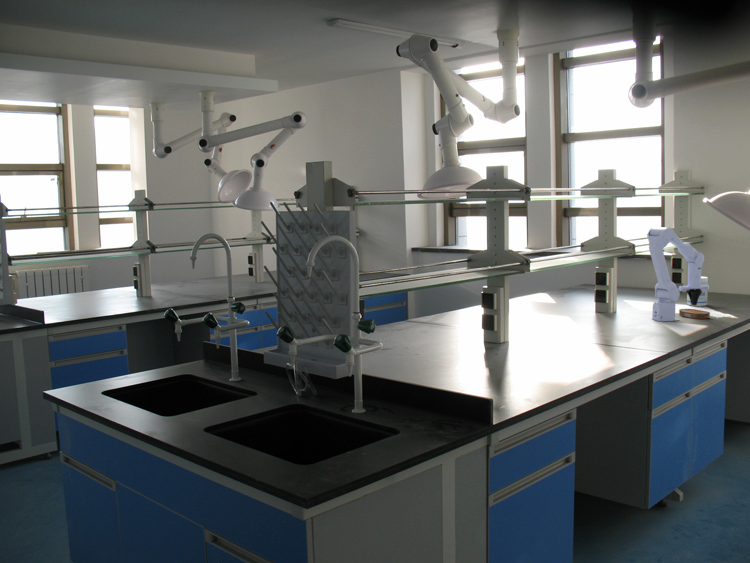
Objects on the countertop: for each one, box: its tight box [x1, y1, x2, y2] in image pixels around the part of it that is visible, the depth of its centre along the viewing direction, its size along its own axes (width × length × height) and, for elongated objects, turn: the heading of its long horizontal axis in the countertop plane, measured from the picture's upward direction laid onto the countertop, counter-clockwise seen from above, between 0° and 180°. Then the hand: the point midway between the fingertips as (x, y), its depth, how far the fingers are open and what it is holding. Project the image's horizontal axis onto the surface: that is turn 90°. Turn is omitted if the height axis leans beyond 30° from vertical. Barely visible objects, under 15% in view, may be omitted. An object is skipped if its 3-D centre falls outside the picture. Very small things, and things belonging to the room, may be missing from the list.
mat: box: [708, 310, 731, 319], centre depth 324 cm, size 7×15×1 cm, turn 7°
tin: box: [678, 308, 711, 320], centre depth 321 cm, size 15×3×8 cm
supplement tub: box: [686, 275, 709, 307], centre depth 351 cm, size 10×10×15 cm
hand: (693, 304), depth 322 cm, fingers closed
